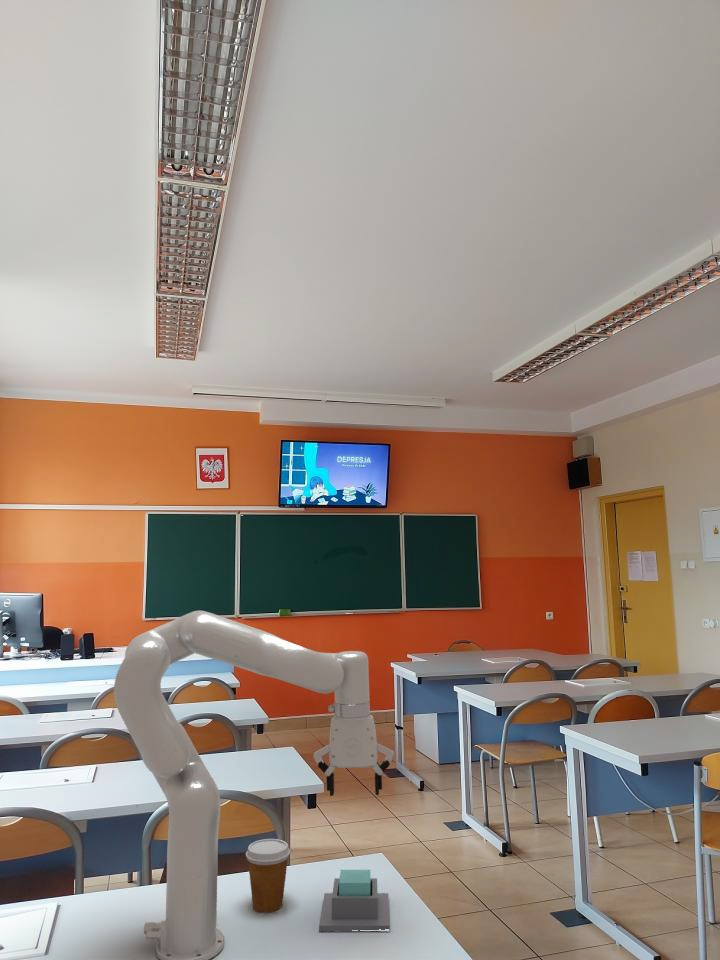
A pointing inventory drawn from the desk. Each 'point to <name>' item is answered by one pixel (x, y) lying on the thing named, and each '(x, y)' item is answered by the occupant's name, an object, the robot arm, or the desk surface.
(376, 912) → the button housing
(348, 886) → the button cap
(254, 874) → the disposable coffee cup
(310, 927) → the desk surface
